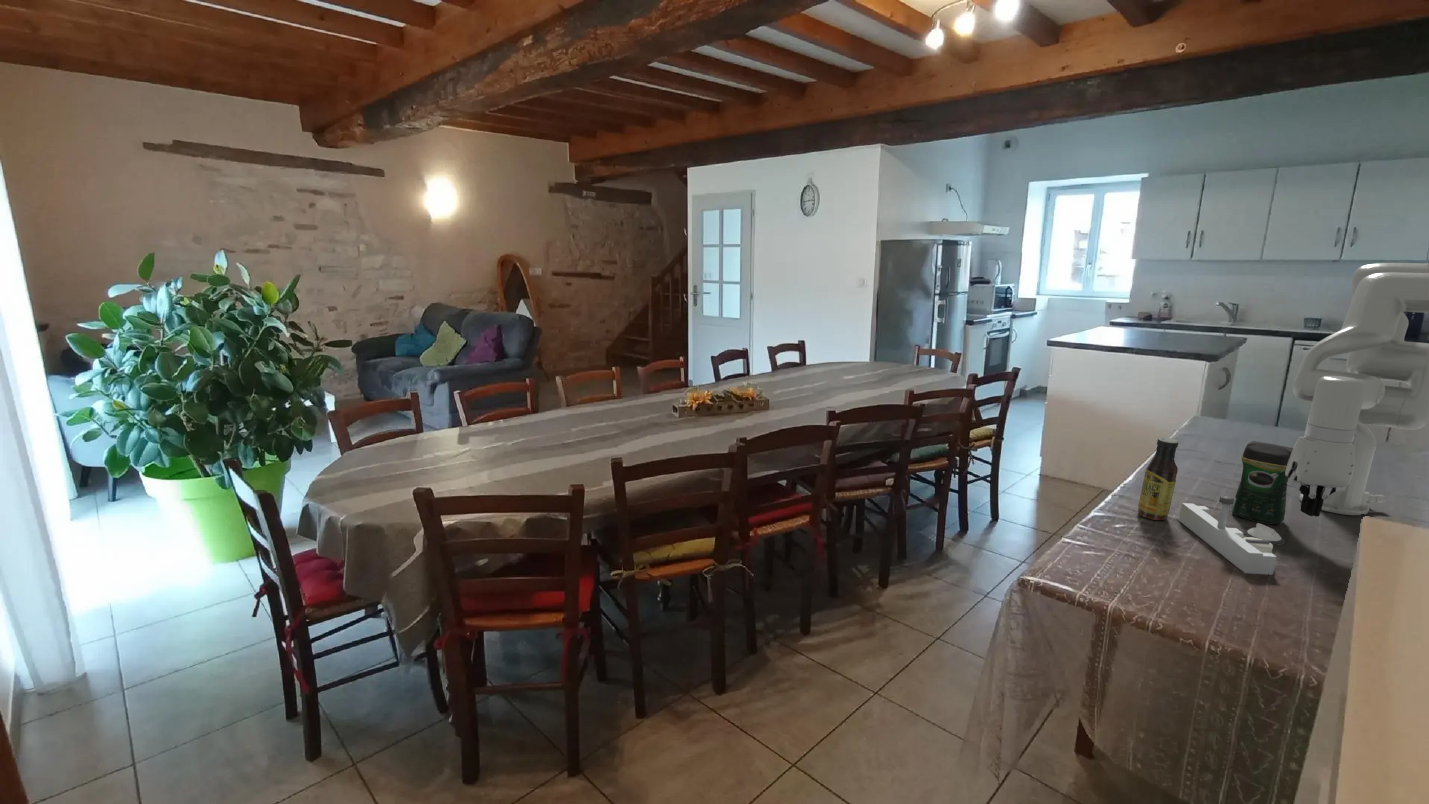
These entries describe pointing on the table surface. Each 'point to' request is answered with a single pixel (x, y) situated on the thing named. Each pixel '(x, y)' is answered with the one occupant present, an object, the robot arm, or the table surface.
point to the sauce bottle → (1159, 481)
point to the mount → (1226, 537)
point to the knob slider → (1260, 544)
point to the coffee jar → (1263, 483)
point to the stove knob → (1265, 534)
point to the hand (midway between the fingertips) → (1309, 513)
